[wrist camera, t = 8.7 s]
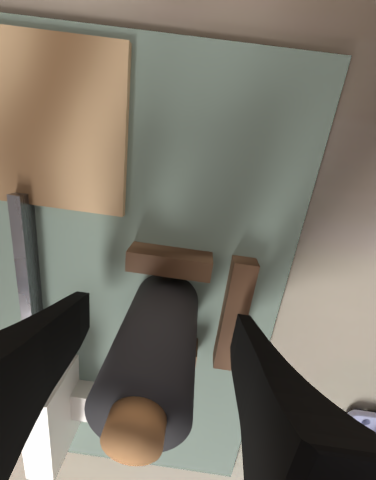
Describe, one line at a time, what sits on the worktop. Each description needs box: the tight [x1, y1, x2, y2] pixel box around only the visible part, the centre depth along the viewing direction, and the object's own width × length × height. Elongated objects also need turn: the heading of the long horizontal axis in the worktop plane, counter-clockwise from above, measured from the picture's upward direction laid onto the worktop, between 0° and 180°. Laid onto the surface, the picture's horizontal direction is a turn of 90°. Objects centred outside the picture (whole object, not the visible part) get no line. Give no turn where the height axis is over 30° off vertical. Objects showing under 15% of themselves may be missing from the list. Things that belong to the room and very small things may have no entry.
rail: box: [6, 192, 43, 320], centre depth 15 cm, size 1×16×1 cm, turn 173°
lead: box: [84, 275, 198, 466], centre depth 11 cm, size 3×3×7 cm
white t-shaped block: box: [22, 355, 94, 480], centre depth 15 cm, size 4×6×3 cm
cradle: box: [125, 241, 260, 371], centre depth 14 cm, size 6×6×1 cm
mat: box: [0, 12, 352, 477], centre depth 15 cm, size 16×26×1 cm, turn 173°
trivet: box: [0, 24, 132, 217], centre depth 11 cm, size 7×7×1 cm
